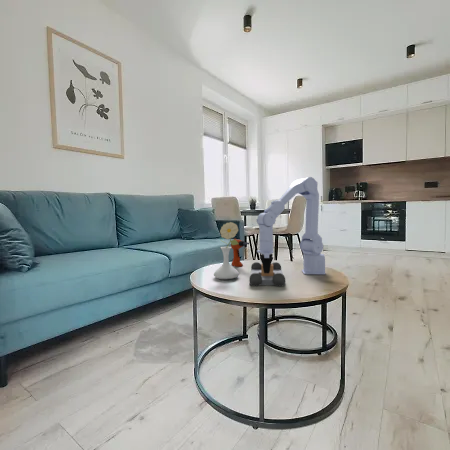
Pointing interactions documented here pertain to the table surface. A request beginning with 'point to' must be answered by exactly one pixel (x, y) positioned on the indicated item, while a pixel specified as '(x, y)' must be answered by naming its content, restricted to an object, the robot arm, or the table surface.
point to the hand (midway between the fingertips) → (266, 271)
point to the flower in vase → (227, 253)
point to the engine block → (267, 273)
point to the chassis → (258, 279)
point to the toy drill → (237, 253)
